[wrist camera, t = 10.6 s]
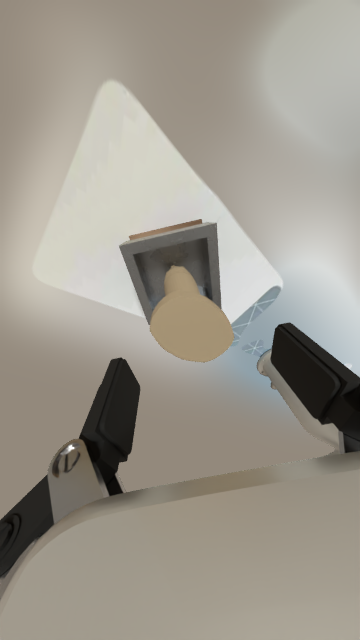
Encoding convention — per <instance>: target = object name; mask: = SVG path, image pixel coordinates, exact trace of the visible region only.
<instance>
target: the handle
mask: <svg viewBox="0 0 360 640" xmlns="http://www.w3.org/2000/svg"><path fill="white" fill-rule="evenodd" d="M164 291H165V295H166V296H165V297H164V298H163V299H162V300H161V301H160V302H159V303H158V304H157V306H156V307H155V308H154V311H153V313H152V316H151V321H150V332H151V333H152V335H153V336H154V338H155V339H156V341H157V342H158V344H159V345H160V346H161V347H162V348H163V349H164V350H166V351H167V352H169V353H171V354H173V355H175V356H176V357H178V358H181V359H183V360H188V361H195V362H208V361H211V360H213V359H215V358H217V357H218V356H220V355H221V354H222V353H224V352H225V351H226V350H227V349H228V348H229V347H230V345H231V344H232V342H233V340H234V334H233V331H232V327H231V324H230V322H229V320H228V318H227V317H226V315H225V314H224V312H223V311H222V310H221V309H220V308H219V307H218V306H217V305H216V304H215V303H214V302H212V301H211V300H210V299H208V298H207V297H205V296H202V295H200V292H199V289H198V287H197V284H196V282H195V280H194V278H193V277H192V275H191V274H190V273H189V272H188V271H187V270H186V269H185V268H184V267H183V266H181V267H179V266H175V265H172V266H171V268H170V270H169V271H167V272H166V276H165V280H164Z"/></svg>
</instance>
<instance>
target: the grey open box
mask: <svg viewBox="0 0 360 640" xmlns="http://www.w3.org/2000/svg"><path fill="white" fill-rule="evenodd" d="M119 248H120V250H121V253H122V255H123V258H124V261H125V263H126V266H127V269H128V271H129V274H130V277H131V279H132V282H133V284H134V287H135V290H136V292H137V295H138V298H139V300H140V303H141V306H142V308H143V311H144V314H145V316H146V319H147V321H148V324H149V325H150V321H151V316H152V313H153V311H154V308H155V307H156V306H157V304H158V303H159V302H160V301H161V300H162V299H163V298H164V297H165V296H166V295H165V291H164V280H165V276H166V272H167V271H169V270H170V268H171V266H172V265H175V266H179V267H181V266H183V267H184V268H185V269H186V270H187V271H188V272H189V273H190V274H191V275H192V277H193V278H194V280H195V282H196V284H197V287H198V289H199V292H200V295H202V296H205V297H207V298H208V299H210V300H211V301H212V302H214V303H215V304H216V305H217V306H218V307H219V308H220V309H221V292H220V275H219V257H218V239H217V223H209V222H206V223H202V224H198V225H194V226H189V227H185V228H181V229H177V230H172V231H168V232H164V233H160V234H155V235H151V236H147V237H142V238H138V239H134V240H130V241H126V242H124V243H123V244H121V245H120V246H119Z"/></svg>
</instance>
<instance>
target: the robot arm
mask: <svg viewBox="0 0 360 640" xmlns="http://www.w3.org/2000/svg"><path fill="white" fill-rule="evenodd" d="M257 369H258V371H259V372H260V374H262V375H264V376H268V377H269V378H270V380H271V381H272V382H271V388H272V389H277V390H278V391H279V393H280V394H281V396H282V397H283V399H284V400H285V402H286V403H287V405H288V406H289V408H290V409H291V411H292V412H293V413H294V415H295V416H296V418H297V419H298V421H299V422H300V424H301V425H302V426H303V428H304V429H305V430H306V431H307V432H308V433H309V434H310V435H312V436H313V437H315V438H317V439H319V440H321V441H323V442H325V443H327V444H329V445H331V446H333V447H334V448H335V451H334V452H332V453H330V454H329V455H326V456H323V457H319V458H313V459H308V460H302V461H296V462H290V463H285V464H278V465H272V466H268V467H262V468H256V469H250V470H244V471H239V472H234V473H228V474H222V475H217V476H211V477H205V478H200V479H194V480H189V481H184V482H178V483H173V484H168V485H162V486H157V487H151V488H146V489H141V490H136V491H131V492H126V490H125V488H124V486H123V484H122V481H121V479H120V477H119V475H118V473H117V470H118V465H119V462H125V461H127V458H128V454H130V453H131V450H132V443H133V436H134V429H135V422H136V415H137V408H138V402H139V395H140V385H139V383H138V381H137V380H136V378H135V376H134V374H133V372H132V370H131V369H130V367H129V365H128V363H127V361H126V360H125V359H122V358H117V359H112V360H111V361H110V364H109V366H108V369H107V371H106V374H105V376H104V379H103V381H102V384H101V385H100V387H99V389H98V391H97V394H96V397H95V399H94V401H93V404H92V407H91V410H90V412H89V414H88V417H87V419H86V422H85V424H84V426H83V429H82V432H81V434H80V437H79V439H73V440H71V441H69V442H67V443H66V444H65V445H63V446H62V447H61V448H60V449H59V450H58V452H57V453H56V454H55V456H54V457H53V459H52V461H51V463H50V466H49V468H48V474H47V475H46V476H45V477H44V478H43V479H42V480H41V481H40V482H39V483H38V484H37V485H36V486H35V487H34V488H33V489H32V490H31V491H30V492H29V493H28V494H27V495H26V496H25V497H24V498H23V499H22V500H21V501H20V502H19V503H18V504H16V505H15V506H14V507H13V508H12V509H11V510H10V511H9V512H8V513H7V514H6V515H5V516H4V517H3V518H2V519H1V520H0V640H360V378H359V377H358V376H357V375H356V374H354V373H353V372H352V371H351V370H349V369H348V368H347V367H346V366H344V365H343V364H342V363H341V362H339V361H338V360H337V359H336V358H334V357H333V356H332V355H331V354H329V353H328V352H327V351H325V350H324V349H323V348H321V347H320V346H319V345H318V344H317V343H315V342H314V341H313V340H312V339H310V338H309V337H308V336H307V335H305V334H304V333H303V332H301V331H300V330H299V329H298V328H296V327H295V326H294V325H293V324H291V323H284V324H280V325H278V326H277V328H275V333H274V339H273V345H272V349H271V350H269V351H267V352H266V353H264V354H263V355H262V356H261V357H260V359H259V360H258V362H257Z"/></svg>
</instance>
